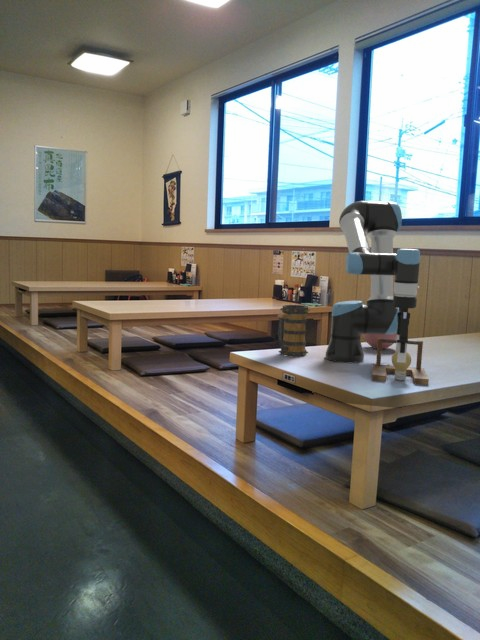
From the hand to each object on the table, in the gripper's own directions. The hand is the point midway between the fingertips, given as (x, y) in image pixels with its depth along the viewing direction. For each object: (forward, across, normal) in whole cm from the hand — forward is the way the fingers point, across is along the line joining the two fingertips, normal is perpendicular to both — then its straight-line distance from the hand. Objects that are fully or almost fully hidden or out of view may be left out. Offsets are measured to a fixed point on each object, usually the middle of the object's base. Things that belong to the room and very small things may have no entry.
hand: (400, 357), depth 183 cm
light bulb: (+8, 0, 0) cm, 8 cm away
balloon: (+9, +59, +4) cm, 60 cm away
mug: (+9, +29, +42) cm, 52 cm away
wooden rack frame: (+8, +4, 0) cm, 9 cm away
